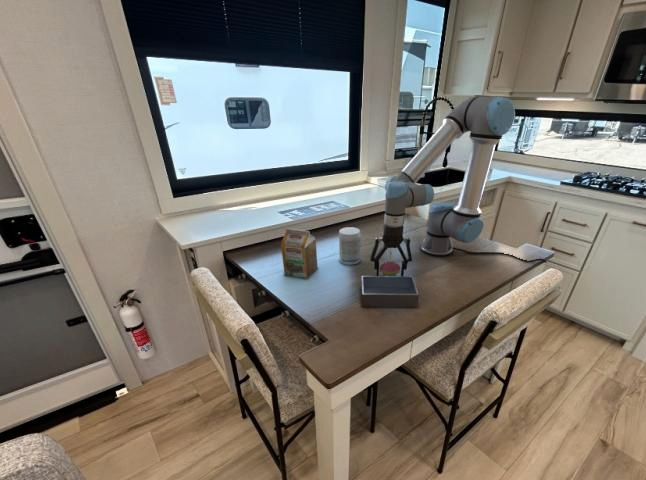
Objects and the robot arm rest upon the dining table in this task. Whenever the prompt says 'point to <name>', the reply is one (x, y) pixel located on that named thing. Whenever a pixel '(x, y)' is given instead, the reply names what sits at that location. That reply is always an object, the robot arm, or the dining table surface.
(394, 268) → the cupcake
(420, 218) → the dining table surface
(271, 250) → the dining table surface
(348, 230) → the supplement tub
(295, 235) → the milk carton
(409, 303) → the open rectangular bin
